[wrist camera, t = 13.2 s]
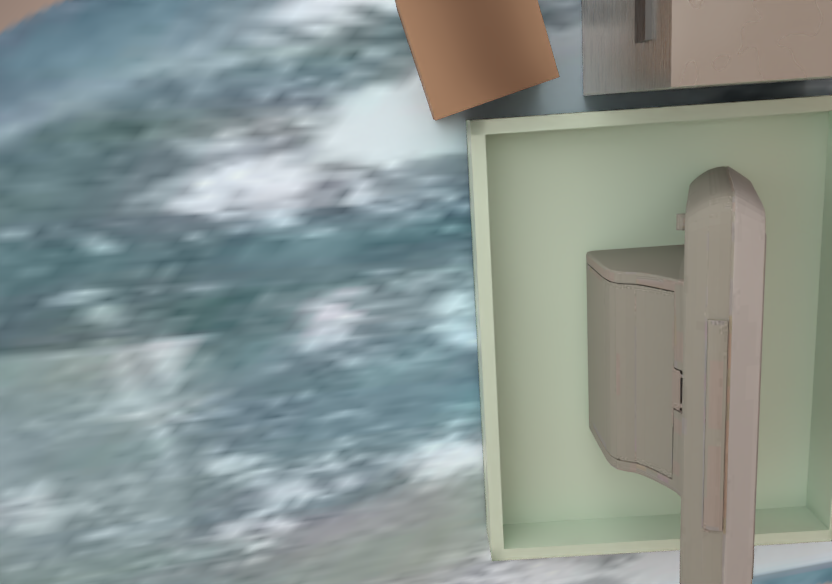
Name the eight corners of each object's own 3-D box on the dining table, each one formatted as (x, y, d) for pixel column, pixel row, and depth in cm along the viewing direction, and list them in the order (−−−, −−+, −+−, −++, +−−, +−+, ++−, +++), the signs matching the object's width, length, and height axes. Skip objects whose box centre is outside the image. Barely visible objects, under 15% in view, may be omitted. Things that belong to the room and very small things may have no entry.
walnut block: (433, 119, 34) (435, 120, 29) (396, 8, 33) (393, -10, 28) (539, 81, 34) (559, 76, 29) (505, -32, 33) (521, -57, 28)
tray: (486, 529, 39) (492, 561, 36) (465, 120, 34) (470, 120, 31) (811, 510, 38) (841, 540, 36) (836, 94, 34) (873, 92, 31)
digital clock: (720, 499, 38) (835, 646, 27) (542, 477, 37) (590, 617, 27) (801, 175, 34) (969, 203, 24) (604, 148, 34) (687, 164, 23)
